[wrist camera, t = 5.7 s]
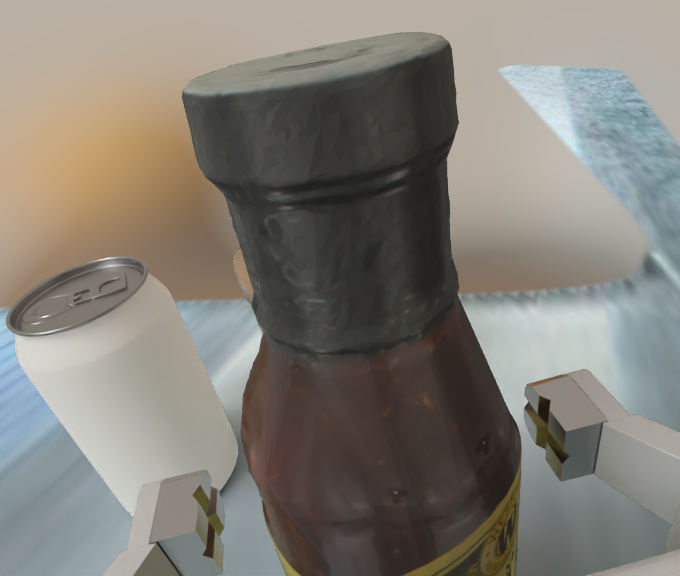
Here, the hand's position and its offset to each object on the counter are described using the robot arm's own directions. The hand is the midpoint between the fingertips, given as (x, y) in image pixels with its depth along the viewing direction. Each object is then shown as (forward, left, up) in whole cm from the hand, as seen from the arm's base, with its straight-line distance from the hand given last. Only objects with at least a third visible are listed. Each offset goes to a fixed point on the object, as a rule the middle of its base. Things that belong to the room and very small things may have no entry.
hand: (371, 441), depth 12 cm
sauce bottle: (0, -1, -11) cm, 11 cm away
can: (-10, +10, -11) cm, 18 cm away
